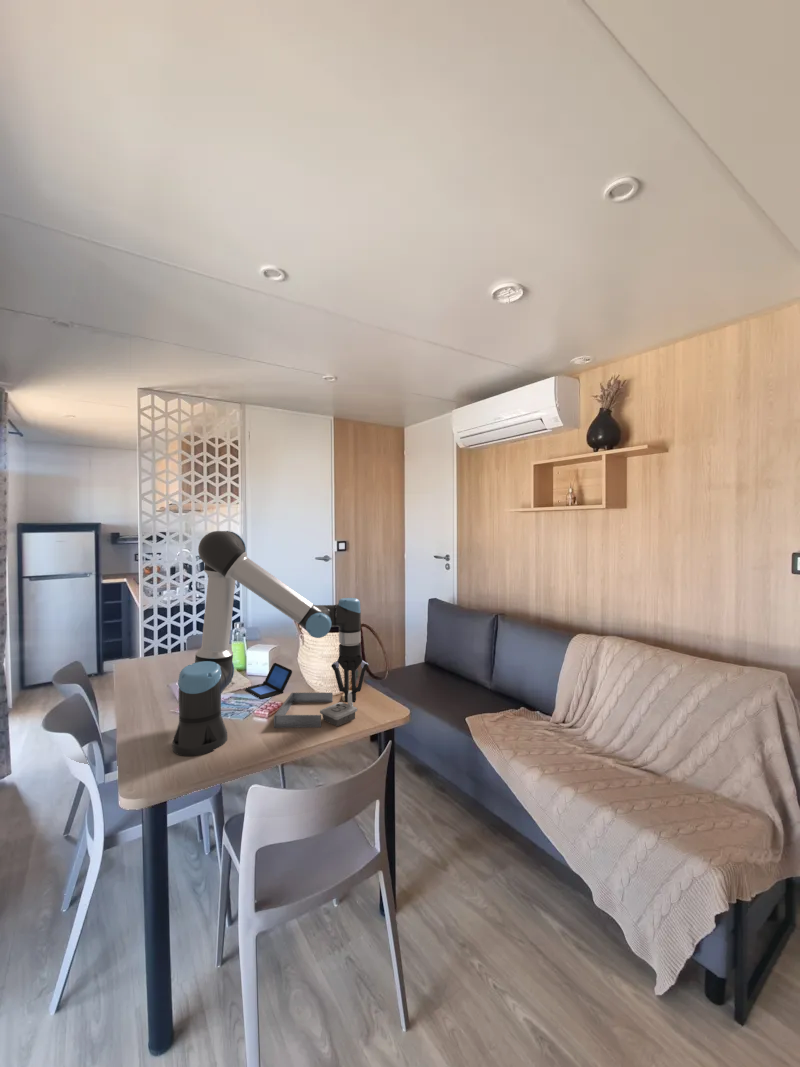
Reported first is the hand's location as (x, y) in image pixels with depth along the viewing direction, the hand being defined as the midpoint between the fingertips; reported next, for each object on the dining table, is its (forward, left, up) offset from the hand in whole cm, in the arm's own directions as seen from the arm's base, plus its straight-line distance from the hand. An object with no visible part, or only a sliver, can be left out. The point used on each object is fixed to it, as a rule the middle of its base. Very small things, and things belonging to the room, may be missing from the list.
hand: (350, 711), depth 156 cm
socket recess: (0, +16, -1) cm, 16 cm away
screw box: (+14, +3, -2) cm, 14 cm away
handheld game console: (+23, +36, -2) cm, 43 cm away
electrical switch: (-2, +7, -2) cm, 7 cm away
